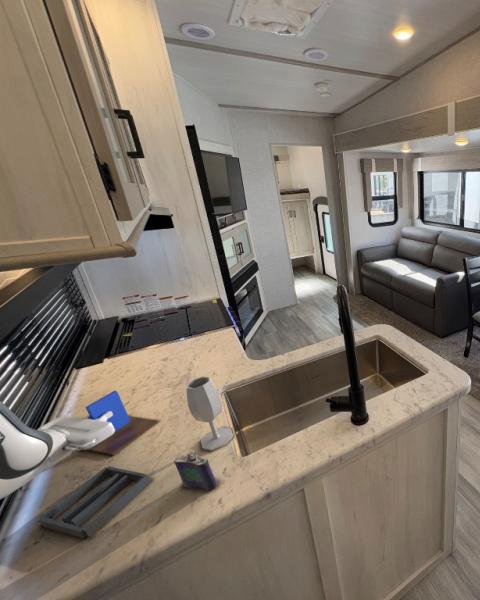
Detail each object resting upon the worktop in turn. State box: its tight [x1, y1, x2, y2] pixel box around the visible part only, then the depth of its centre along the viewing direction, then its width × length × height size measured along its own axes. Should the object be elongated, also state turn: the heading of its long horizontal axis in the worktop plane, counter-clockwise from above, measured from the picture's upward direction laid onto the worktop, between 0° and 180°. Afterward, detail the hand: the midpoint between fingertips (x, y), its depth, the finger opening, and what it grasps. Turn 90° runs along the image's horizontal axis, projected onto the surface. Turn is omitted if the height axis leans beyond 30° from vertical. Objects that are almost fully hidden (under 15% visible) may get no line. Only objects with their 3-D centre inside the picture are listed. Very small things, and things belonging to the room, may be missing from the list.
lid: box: [84, 390, 130, 431], centre depth 96 cm, size 1×8×12 cm, turn 167°
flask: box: [173, 450, 218, 492], centre depth 78 cm, size 9×3×11 cm, turn 79°
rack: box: [39, 466, 151, 540], centre depth 76 cm, size 15×15×2 cm
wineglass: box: [185, 376, 234, 452], centre depth 91 cm, size 9×9×21 cm
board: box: [85, 415, 158, 456], centre depth 99 cm, size 16×14×1 cm
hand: (107, 412), depth 96 cm, fingers closed on lid, 1 cm apart
